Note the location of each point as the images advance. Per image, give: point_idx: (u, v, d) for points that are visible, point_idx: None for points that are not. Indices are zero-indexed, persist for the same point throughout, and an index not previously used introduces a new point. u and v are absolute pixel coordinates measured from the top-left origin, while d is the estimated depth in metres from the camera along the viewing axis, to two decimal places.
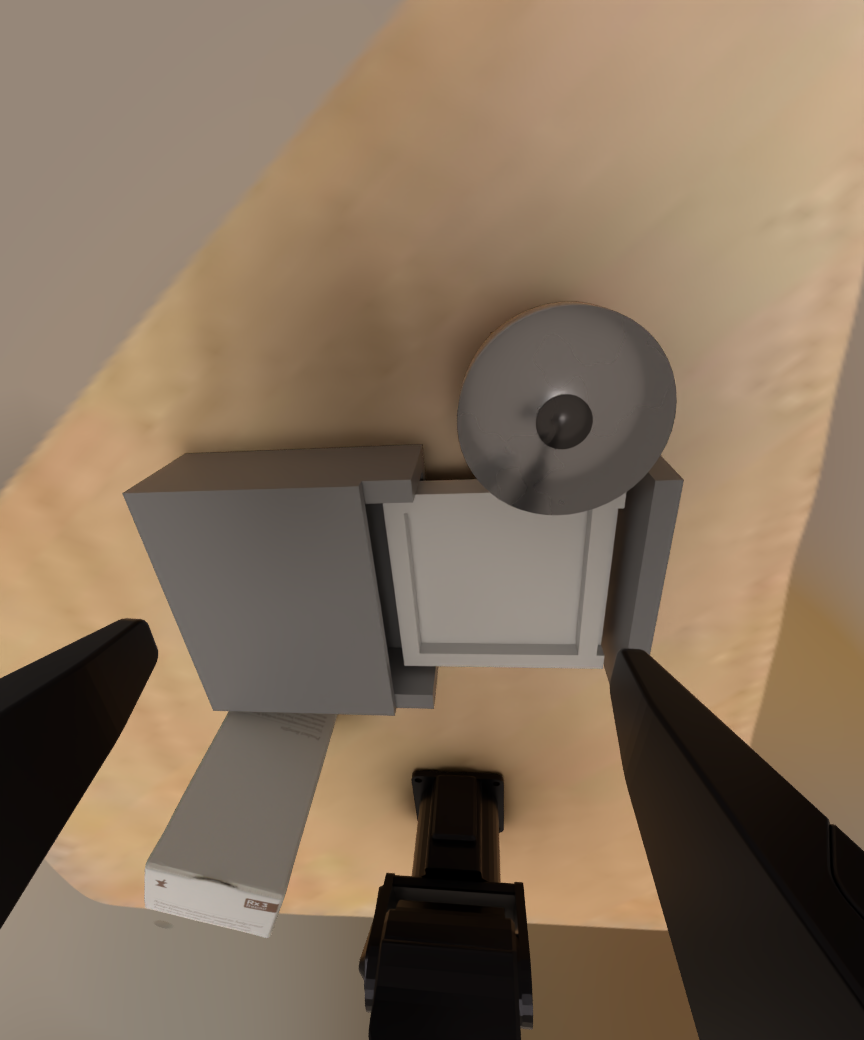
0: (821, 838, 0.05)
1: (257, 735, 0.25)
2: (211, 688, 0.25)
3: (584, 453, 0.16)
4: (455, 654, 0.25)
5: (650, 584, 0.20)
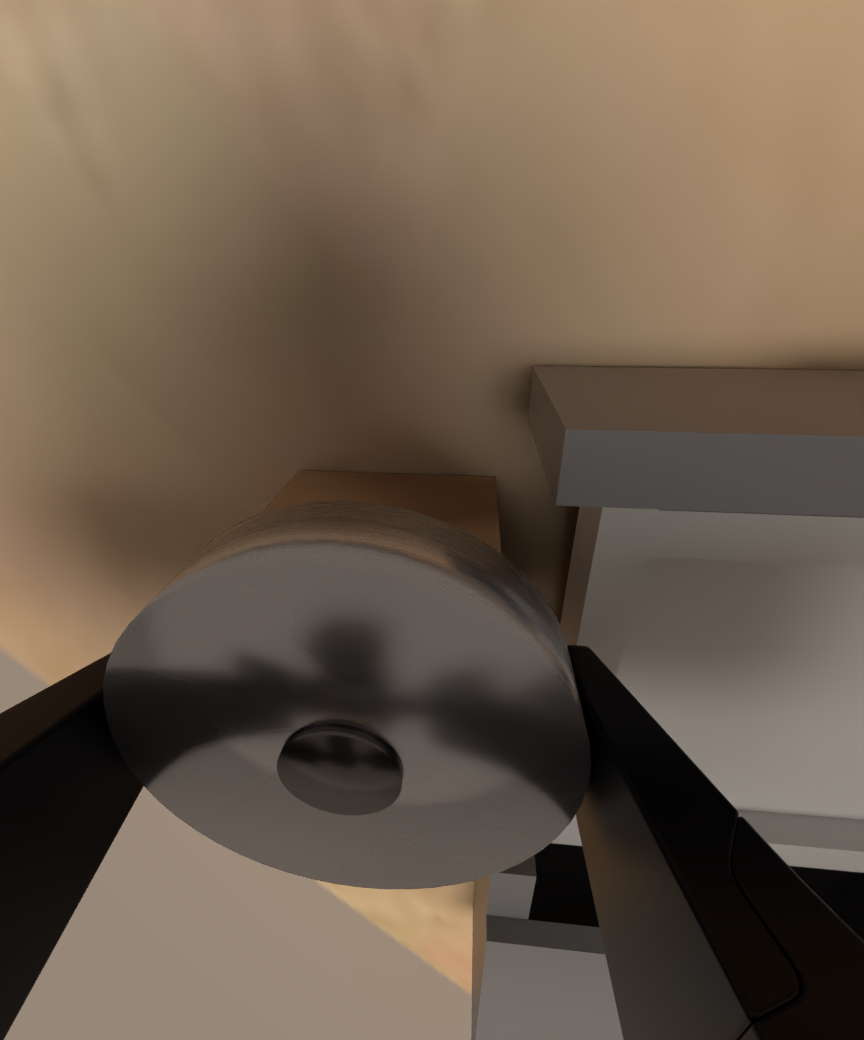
0: (727, 830, 0.05)
1: None
2: None
3: (419, 736, 0.06)
4: None
5: None
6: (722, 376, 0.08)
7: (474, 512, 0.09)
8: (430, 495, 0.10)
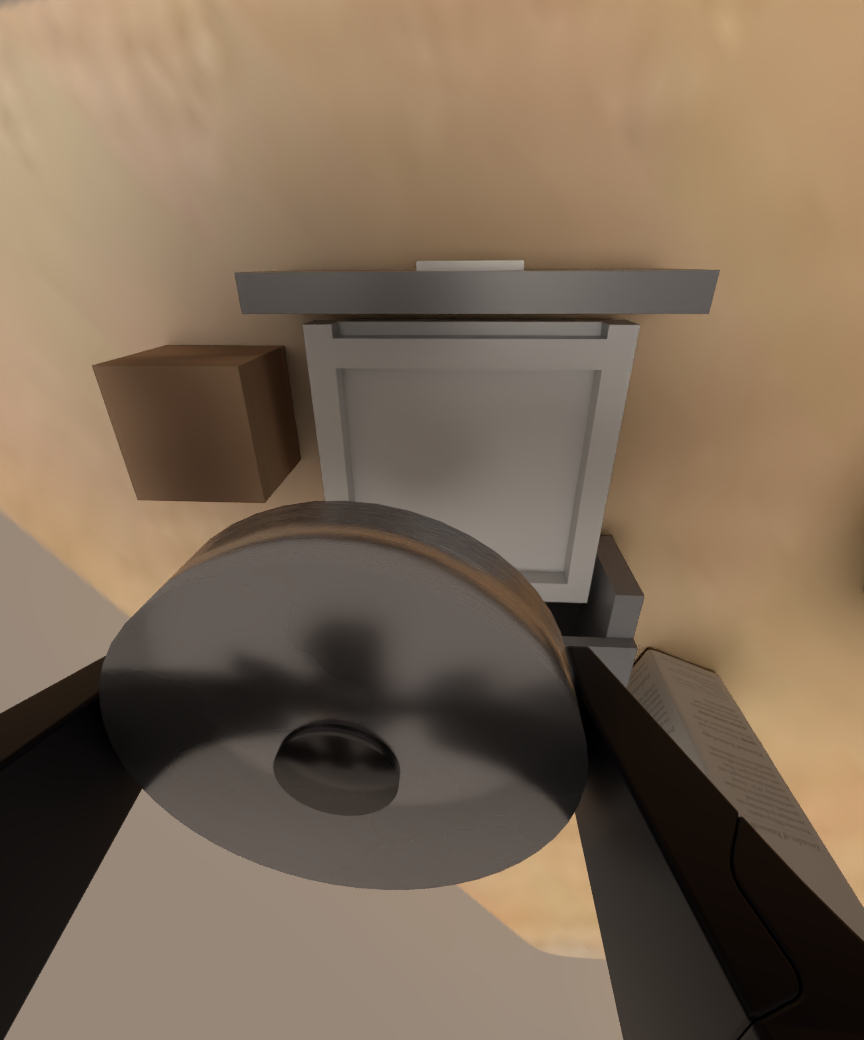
0: (726, 830, 0.05)
1: None
2: None
3: (416, 737, 0.06)
4: (576, 542, 0.18)
5: (414, 294, 0.12)
6: (373, 270, 0.15)
7: (252, 353, 0.16)
8: (234, 350, 0.16)
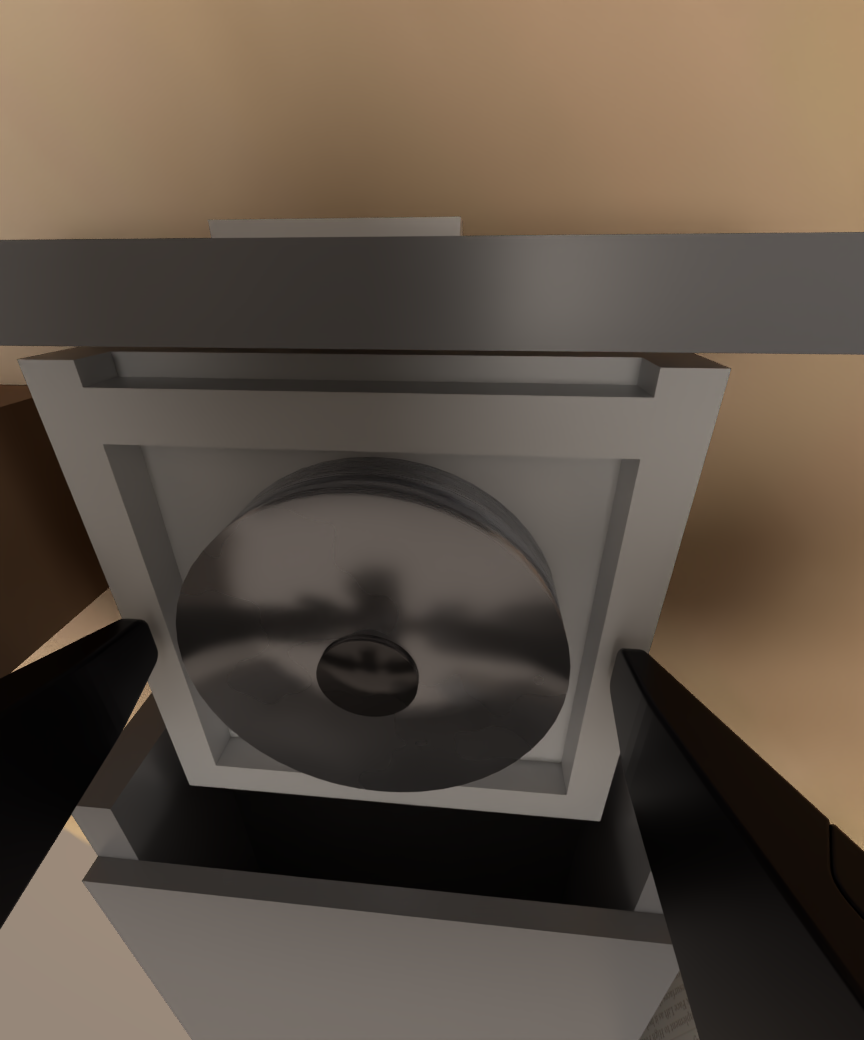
0: (821, 838, 0.05)
1: None
2: None
3: (432, 645, 0.08)
4: (582, 738, 0.10)
5: (166, 298, 0.05)
6: None
7: None
8: None
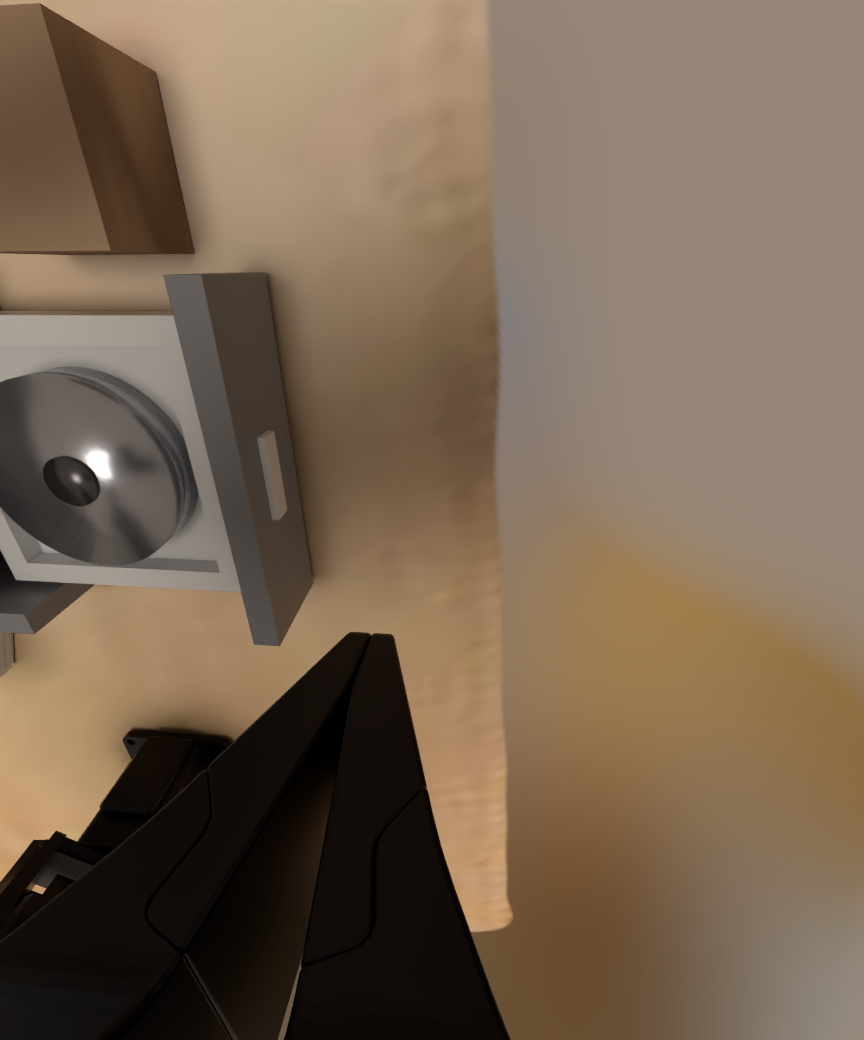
0: (401, 801, 0.05)
1: None
2: None
3: (105, 511, 0.17)
4: (72, 566, 0.19)
5: (222, 453, 0.14)
6: (272, 376, 0.16)
7: (157, 234, 0.14)
8: (163, 200, 0.14)
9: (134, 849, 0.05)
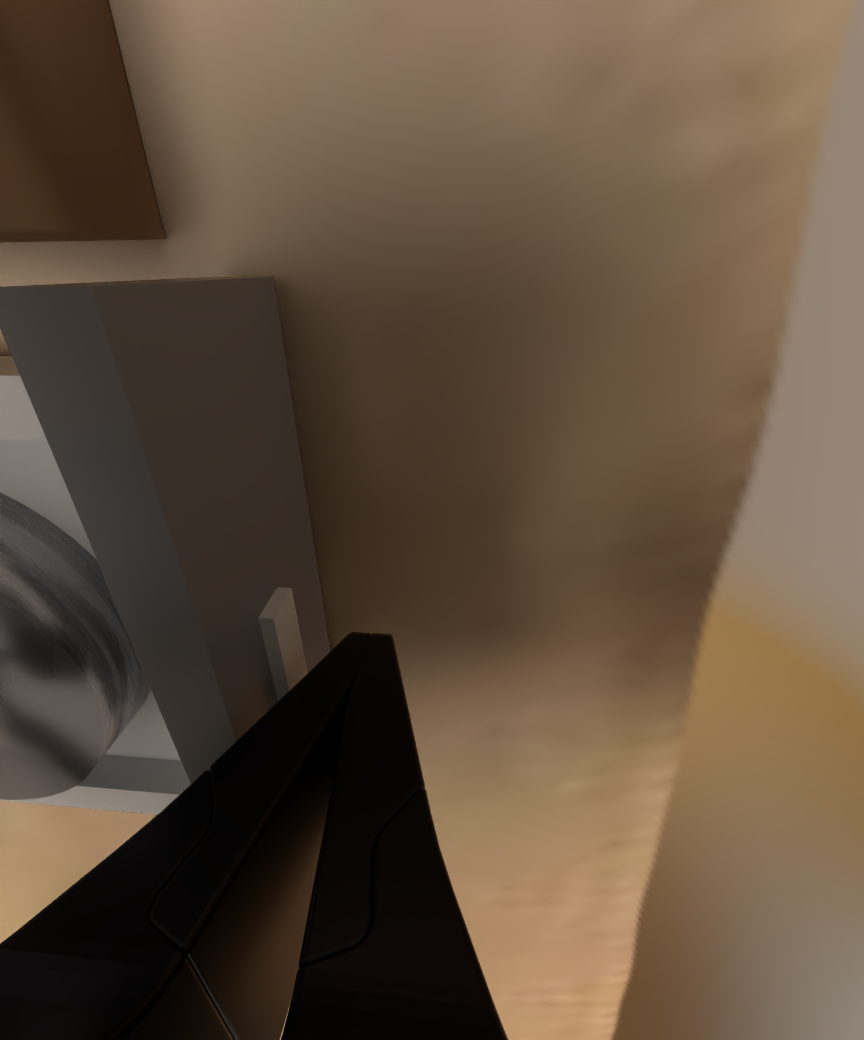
0: (399, 800, 0.05)
1: None
2: None
3: None
4: None
5: (181, 683, 0.06)
6: (287, 477, 0.08)
7: (71, 190, 0.06)
8: (84, 111, 0.06)
9: (136, 849, 0.05)
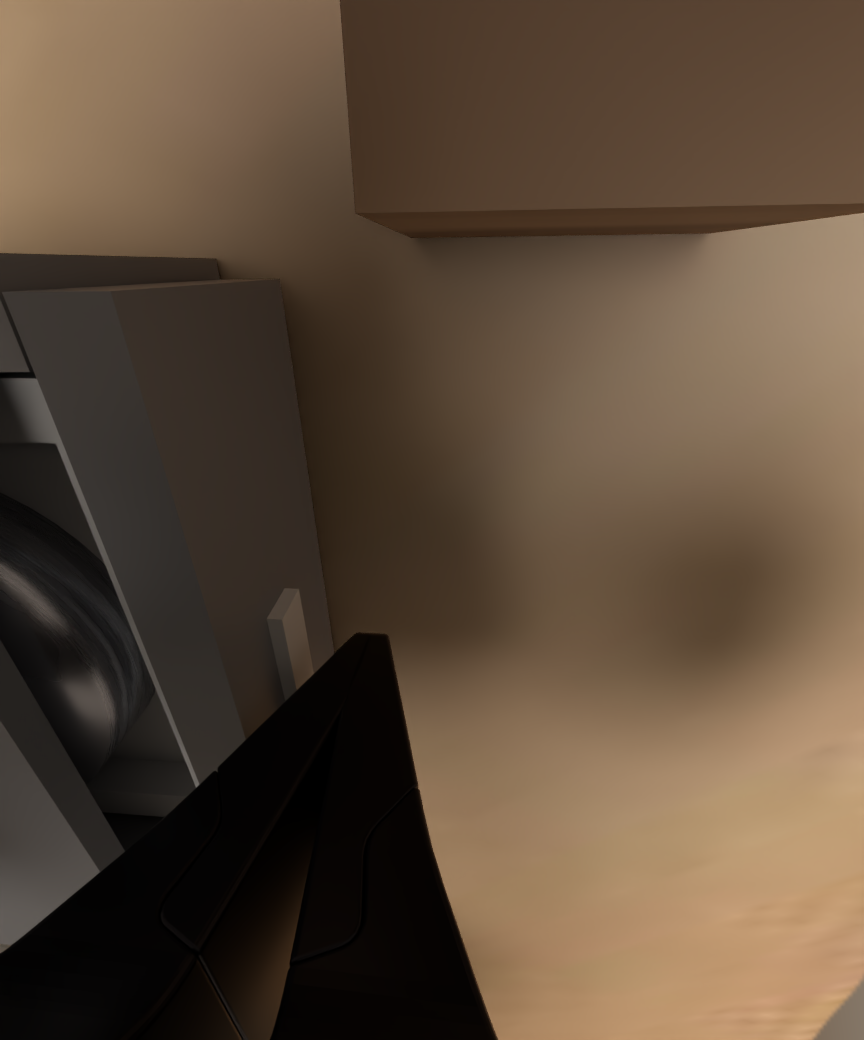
0: (392, 800, 0.05)
1: None
2: None
3: None
4: None
5: (192, 684, 0.06)
6: (293, 479, 0.08)
7: None
8: None
9: (146, 850, 0.05)
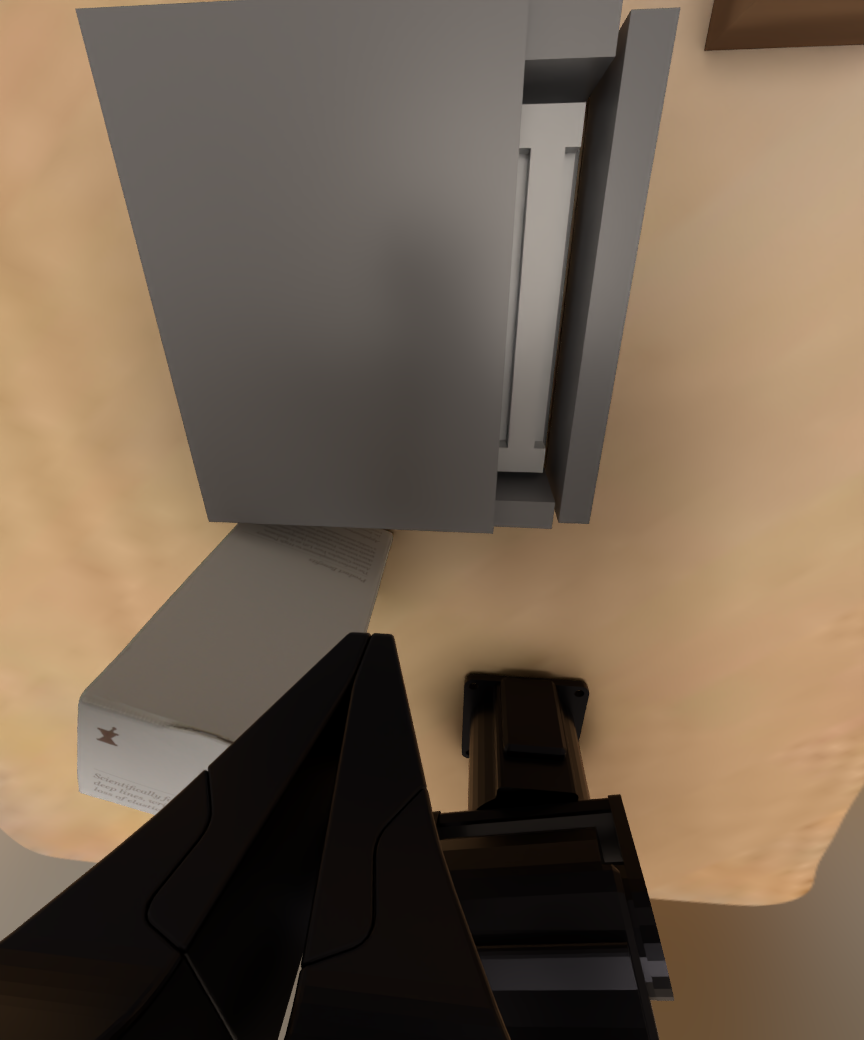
0: (400, 801, 0.05)
1: (275, 561, 0.17)
2: (209, 477, 0.16)
3: None
4: None
5: (614, 265, 0.12)
6: None
7: None
8: None
9: (134, 849, 0.05)
